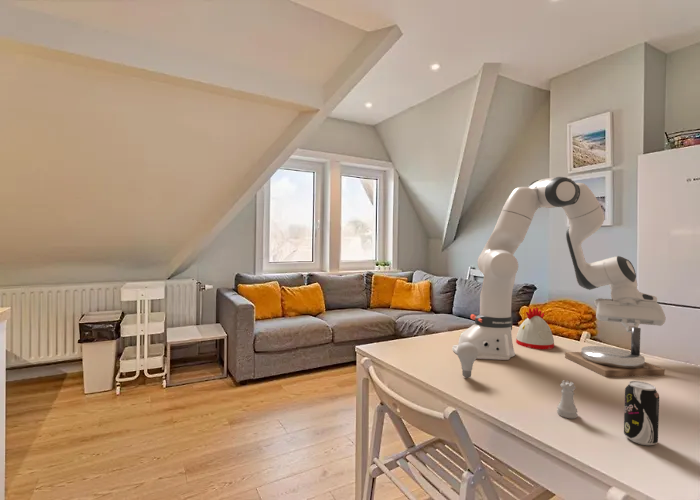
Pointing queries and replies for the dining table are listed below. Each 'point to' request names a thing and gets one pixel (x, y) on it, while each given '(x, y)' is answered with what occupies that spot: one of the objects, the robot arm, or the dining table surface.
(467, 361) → the lightbulb
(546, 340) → the kitchen timer
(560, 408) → the rook chess piece
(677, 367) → the dining table surface
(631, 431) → the beverage can
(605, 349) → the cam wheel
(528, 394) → the dining table surface
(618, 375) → the stand
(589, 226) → the robot arm
